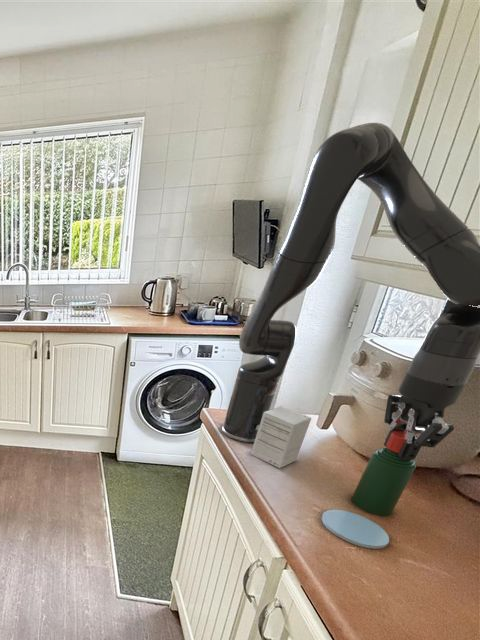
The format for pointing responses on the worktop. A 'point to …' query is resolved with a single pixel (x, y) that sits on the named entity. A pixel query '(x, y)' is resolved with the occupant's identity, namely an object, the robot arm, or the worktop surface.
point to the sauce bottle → (383, 482)
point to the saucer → (355, 529)
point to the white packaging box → (280, 436)
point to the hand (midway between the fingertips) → (397, 452)
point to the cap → (396, 441)
